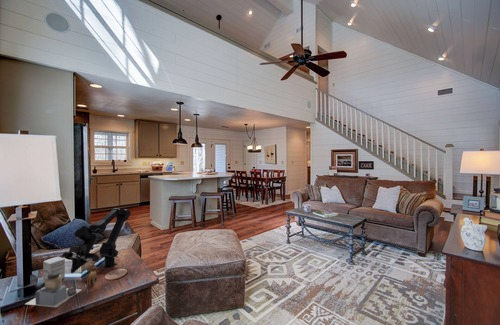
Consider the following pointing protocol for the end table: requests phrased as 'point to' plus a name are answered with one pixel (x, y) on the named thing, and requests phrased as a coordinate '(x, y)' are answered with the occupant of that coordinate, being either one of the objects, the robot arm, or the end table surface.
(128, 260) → the end table surface
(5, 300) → the end table surface
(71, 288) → the potentiometer
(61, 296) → the mount
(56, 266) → the supplement box
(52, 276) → the knob
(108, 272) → the end table surface
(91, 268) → the lion figurine
